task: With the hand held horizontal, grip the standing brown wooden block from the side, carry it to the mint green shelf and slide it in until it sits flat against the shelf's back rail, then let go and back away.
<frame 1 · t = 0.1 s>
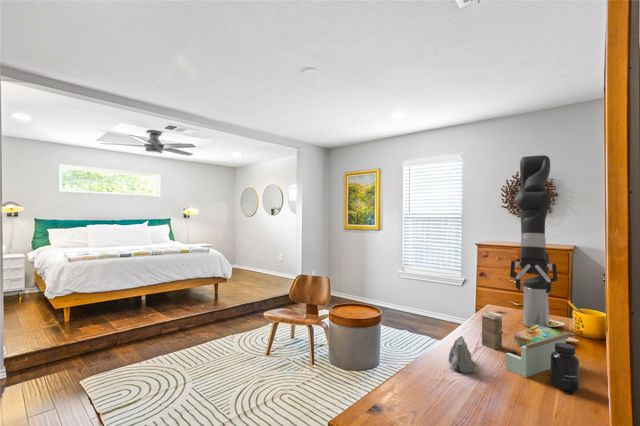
hand: (532, 291, 121), 22 cm above the table, tool pointing down, fingers open, 8 cm apart
puzzle game: (542, 344, 131), on the table
supplement bottle: (564, 387, 98), on the table
mint green shelf: (531, 364, 113), on the table
brown wooden block: (491, 346, 128), on the table
mineral rock: (462, 365, 112), on the table
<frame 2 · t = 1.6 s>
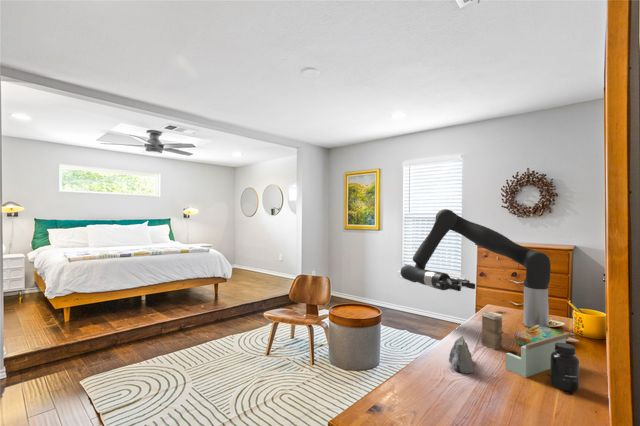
hand: (467, 287, 137), 20 cm above the table, tool horizontal, fingers open, 8 cm apart
nothing on the table moved.
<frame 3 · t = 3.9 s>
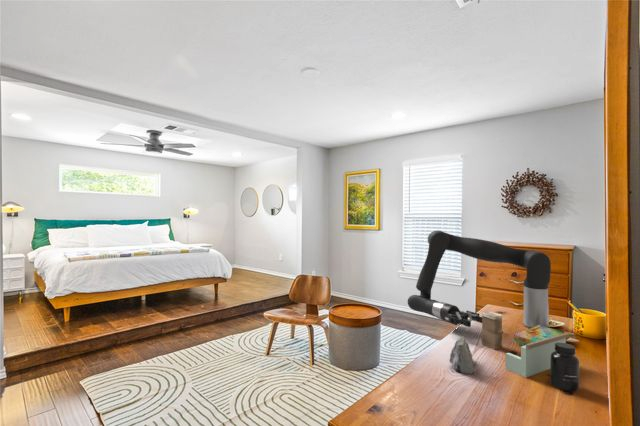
hand: (477, 322, 133), 7 cm above the table, tool horizontal, fingers open, 8 cm apart
nothing on the table moved.
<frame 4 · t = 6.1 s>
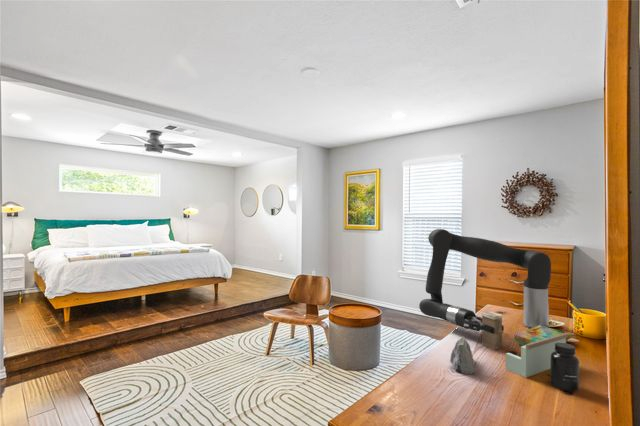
hand: (498, 329, 126), 7 cm above the table, tool horizontal, fingers closed on brown wooden block, 4 cm apart
brown wooden block: (491, 345, 128), on the table, touching gripper
everything else where it was.
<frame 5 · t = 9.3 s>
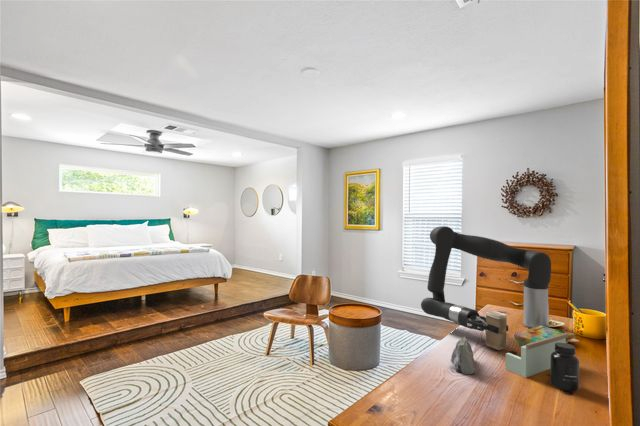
hand: (503, 329, 122), 8 cm above the table, tool horizontal, fingers closed on brown wooden block, 4 cm apart
brown wooden block: (495, 346, 124), point 1 cm above the table, touching gripper
everything else where it was.
when the fingers open (8 cm above the table, at t = 12.6 s): brown wooden block stays where it is, resting on mint green shelf.
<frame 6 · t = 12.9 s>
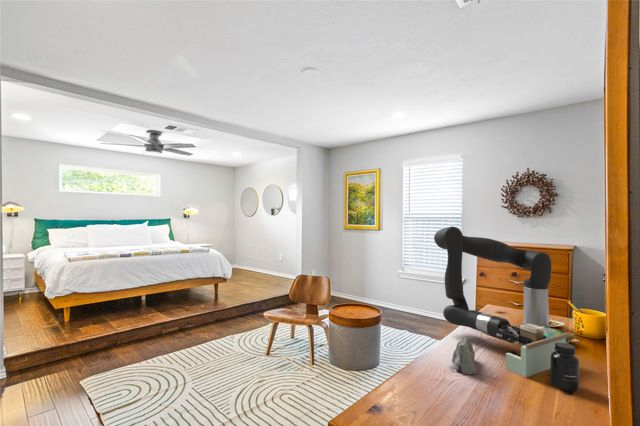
hand: (538, 340, 111), 8 cm above the table, tool horizontal, fingers open, 7 cm apart
brown wooden block: (531, 362, 113), resting on mint green shelf
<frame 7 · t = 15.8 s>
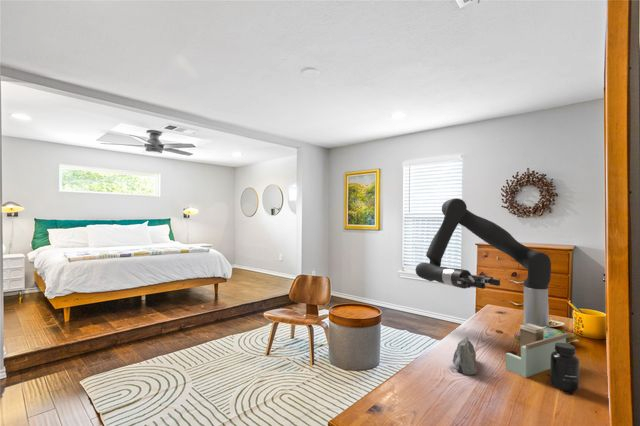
hand: (492, 284, 126), 24 cm above the table, tool horizontal, fingers open, 8 cm apart
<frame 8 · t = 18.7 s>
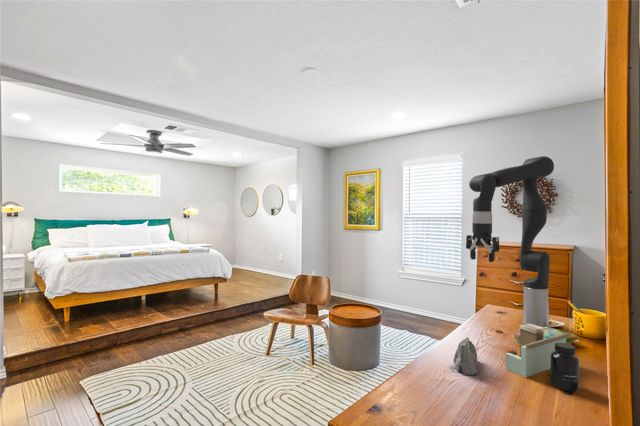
hand: (481, 260, 143), 30 cm above the table, tool pointing down, fingers open, 8 cm apart
at the end: brown wooden block inside the target area on the mint green shelf (0.5 cm from its centre), point 0.4 cm above the mint green shelf's base; brown wooden block tilted 0°; the gripper is holding nothing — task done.
